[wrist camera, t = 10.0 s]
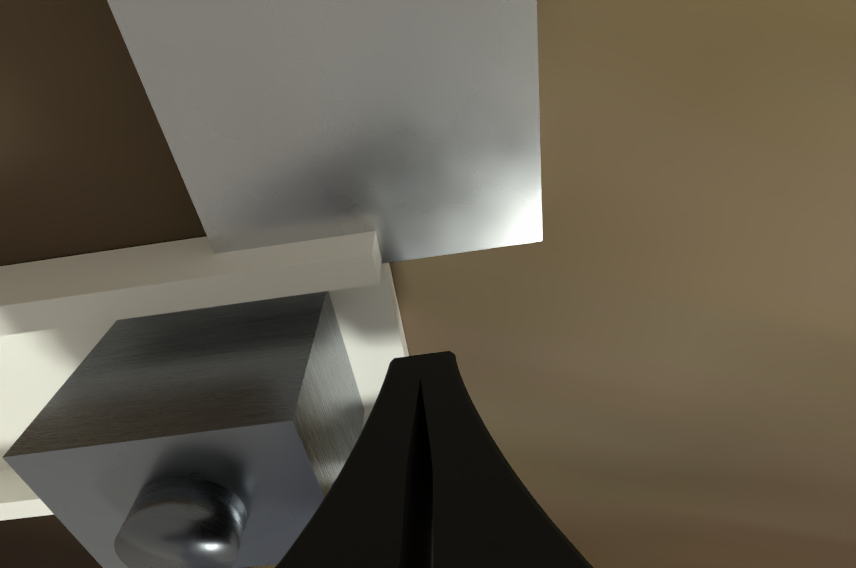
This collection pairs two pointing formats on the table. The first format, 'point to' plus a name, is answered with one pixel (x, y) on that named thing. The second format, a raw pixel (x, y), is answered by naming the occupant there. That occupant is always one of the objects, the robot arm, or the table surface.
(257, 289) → the rail
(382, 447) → the robot arm
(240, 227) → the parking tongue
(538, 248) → the table surface
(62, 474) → the block
